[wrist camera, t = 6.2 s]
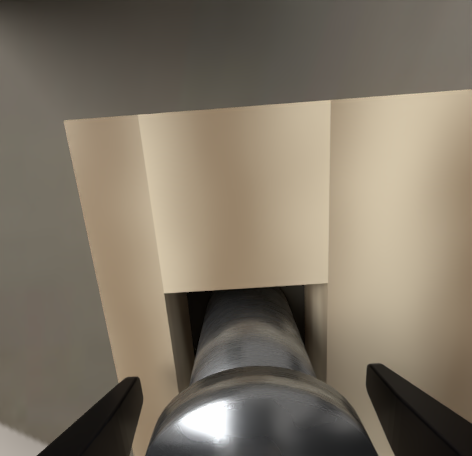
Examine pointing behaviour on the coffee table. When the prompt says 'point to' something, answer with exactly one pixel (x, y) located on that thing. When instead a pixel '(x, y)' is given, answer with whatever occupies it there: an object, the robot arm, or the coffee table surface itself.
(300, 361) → the flared metal knob
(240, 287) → the plate
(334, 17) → the coffee table surface
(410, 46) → the coffee table surface
